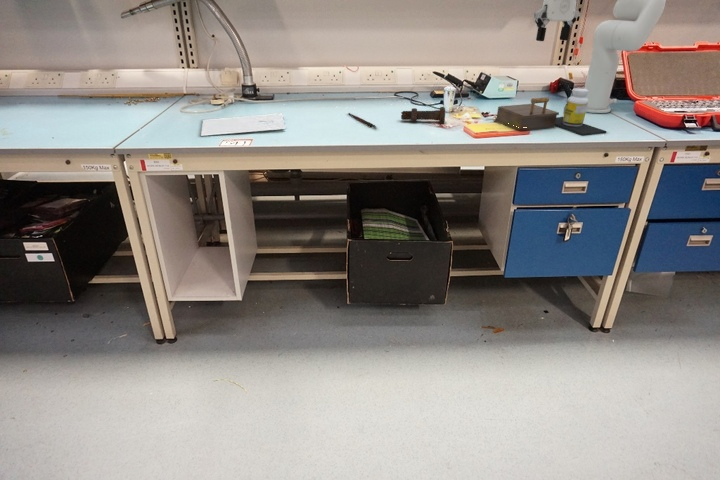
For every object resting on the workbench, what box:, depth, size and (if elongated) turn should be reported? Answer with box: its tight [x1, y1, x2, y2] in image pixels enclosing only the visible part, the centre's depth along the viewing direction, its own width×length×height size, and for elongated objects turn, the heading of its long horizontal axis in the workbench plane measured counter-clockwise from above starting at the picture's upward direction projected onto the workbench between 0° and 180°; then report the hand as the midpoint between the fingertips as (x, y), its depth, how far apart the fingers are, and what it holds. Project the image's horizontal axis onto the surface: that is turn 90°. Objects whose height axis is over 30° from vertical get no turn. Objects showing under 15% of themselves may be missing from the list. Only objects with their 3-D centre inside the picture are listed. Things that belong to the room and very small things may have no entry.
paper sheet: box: [200, 112, 286, 137], centre depth 152 cm, size 24×29×1 cm
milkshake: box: [442, 85, 459, 113], centre depth 170 cm, size 4×5×10 cm
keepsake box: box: [495, 108, 558, 132], centre depth 155 cm, size 13×14×4 cm
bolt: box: [400, 106, 446, 125], centre depth 157 cm, size 6×5×15 cm
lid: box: [497, 96, 560, 118], centre depth 153 cm, size 14×14×6 cm
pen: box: [347, 112, 377, 129], centre depth 157 cm, size 1×1×23 cm
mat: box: [554, 116, 607, 137], centre depth 154 cm, size 10×20×1 cm, turn 21°
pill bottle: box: [563, 87, 588, 127], centre depth 151 cm, size 6×6×12 cm
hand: (551, 40), depth 149 cm, fingers open, 9 cm apart
